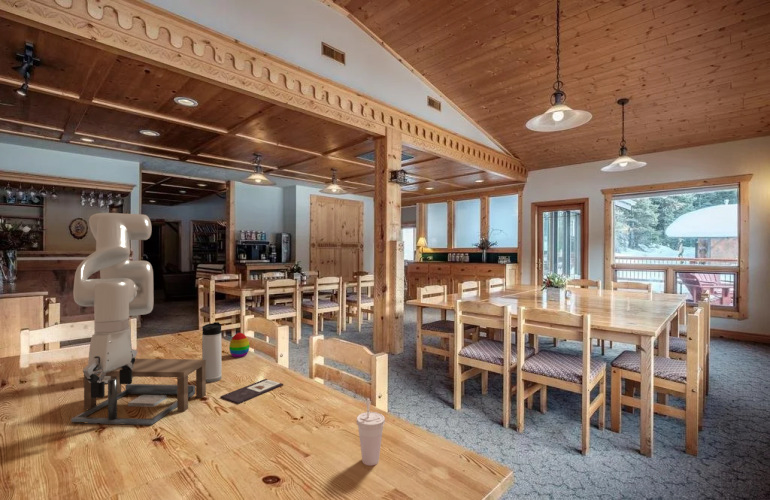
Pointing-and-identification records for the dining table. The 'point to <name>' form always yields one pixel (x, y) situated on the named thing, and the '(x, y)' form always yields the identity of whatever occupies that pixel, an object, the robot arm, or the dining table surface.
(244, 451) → the dining table surface
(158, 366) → the small wooden bench
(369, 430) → the smoothie
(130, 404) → the pale grey flat block
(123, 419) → the grey metal frame
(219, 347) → the travel mug
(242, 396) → the chocolate bar
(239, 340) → the decorative egg
